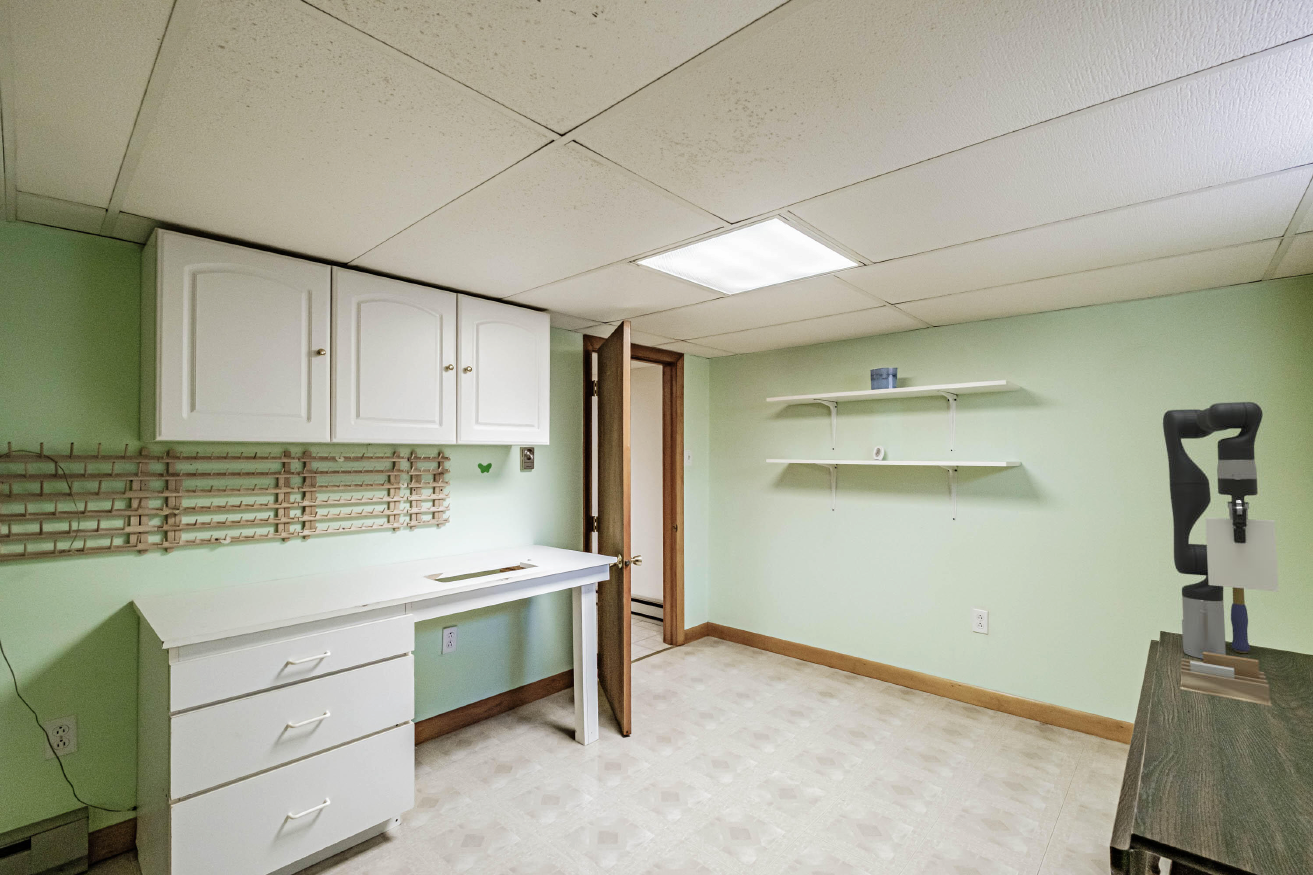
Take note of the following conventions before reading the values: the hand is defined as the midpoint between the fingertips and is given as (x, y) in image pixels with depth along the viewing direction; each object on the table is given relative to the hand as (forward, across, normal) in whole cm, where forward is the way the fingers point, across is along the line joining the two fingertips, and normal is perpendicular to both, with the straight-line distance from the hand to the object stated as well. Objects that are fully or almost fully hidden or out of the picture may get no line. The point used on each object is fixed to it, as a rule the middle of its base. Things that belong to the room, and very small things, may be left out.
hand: (1239, 542), depth 157 cm
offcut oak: (+36, +12, -3) cm, 38 cm away
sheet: (+12, 0, 0) cm, 12 cm away
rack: (+37, +12, -5) cm, 39 cm away
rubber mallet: (+37, -35, +1) cm, 51 cm away
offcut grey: (+36, +16, -7) cm, 40 cm away
